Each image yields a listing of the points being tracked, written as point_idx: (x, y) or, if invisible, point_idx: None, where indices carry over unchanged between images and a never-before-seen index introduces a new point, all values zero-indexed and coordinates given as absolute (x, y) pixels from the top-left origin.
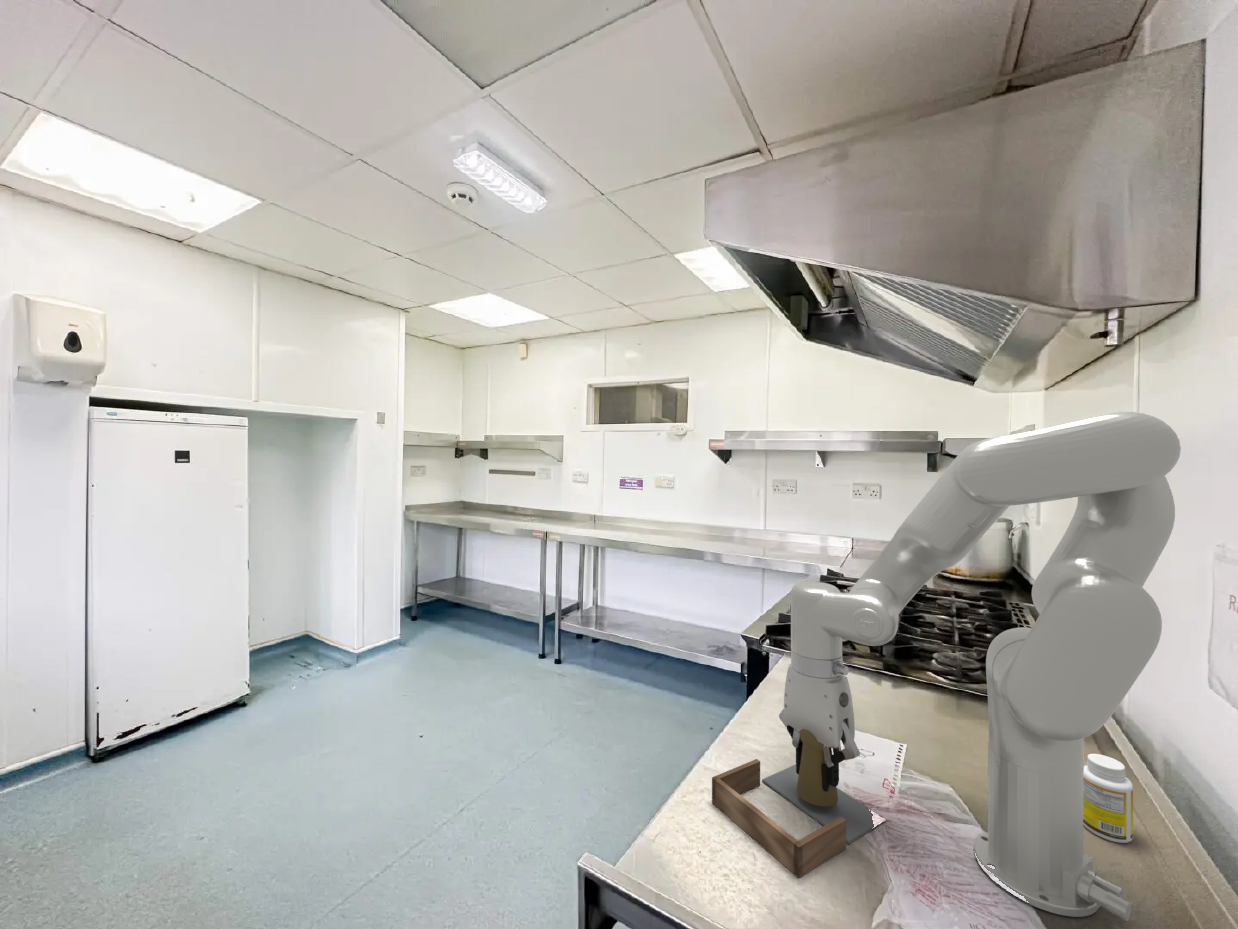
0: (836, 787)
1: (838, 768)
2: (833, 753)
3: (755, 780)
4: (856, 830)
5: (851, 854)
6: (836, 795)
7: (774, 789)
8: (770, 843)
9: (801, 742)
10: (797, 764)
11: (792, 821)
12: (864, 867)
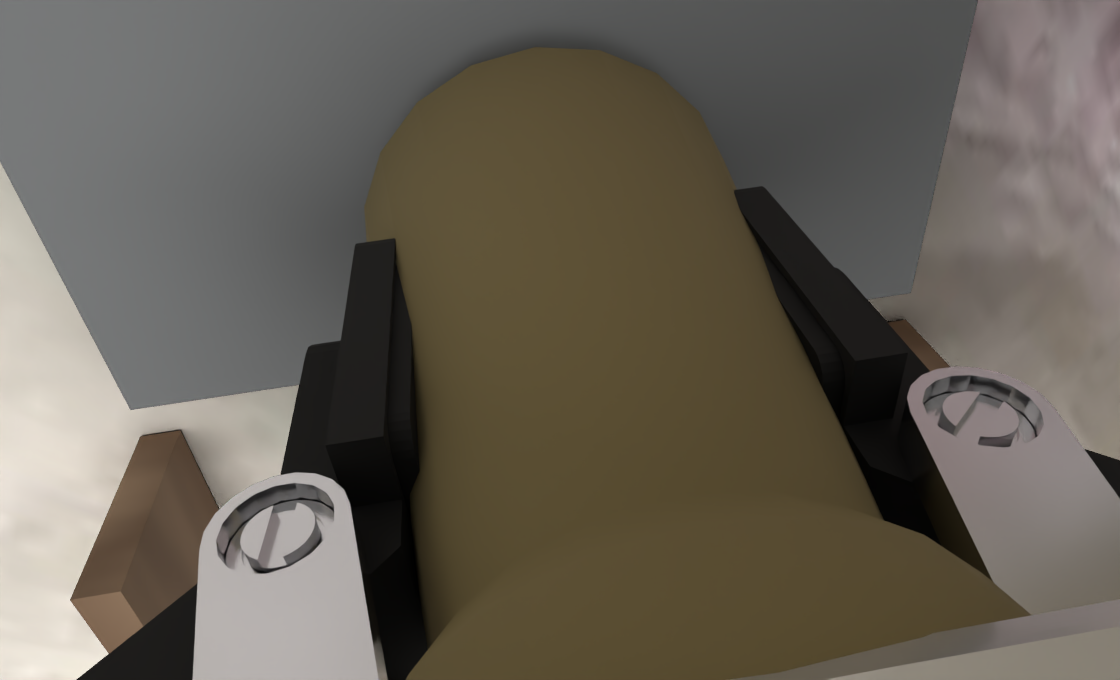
0: (723, 167)
1: (922, 372)
2: (927, 501)
3: (183, 507)
4: (906, 171)
5: (943, 320)
6: (733, 182)
7: (269, 382)
8: None
9: (397, 672)
10: None
11: None
12: (1029, 325)
